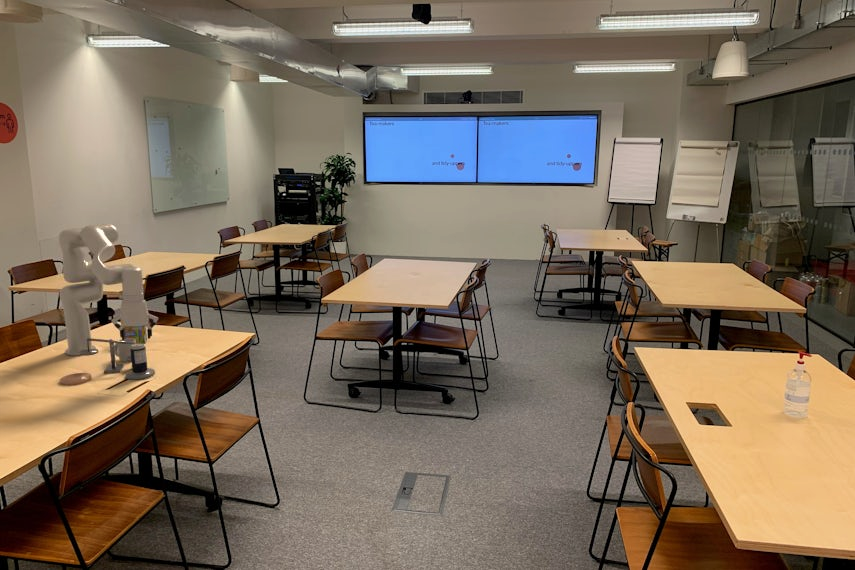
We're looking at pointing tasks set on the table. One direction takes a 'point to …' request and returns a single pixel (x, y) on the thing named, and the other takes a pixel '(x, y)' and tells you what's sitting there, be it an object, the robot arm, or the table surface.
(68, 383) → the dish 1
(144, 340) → the green printed box
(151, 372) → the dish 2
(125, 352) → the cup
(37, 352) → the table surface
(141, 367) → the beverage can
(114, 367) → the balance
